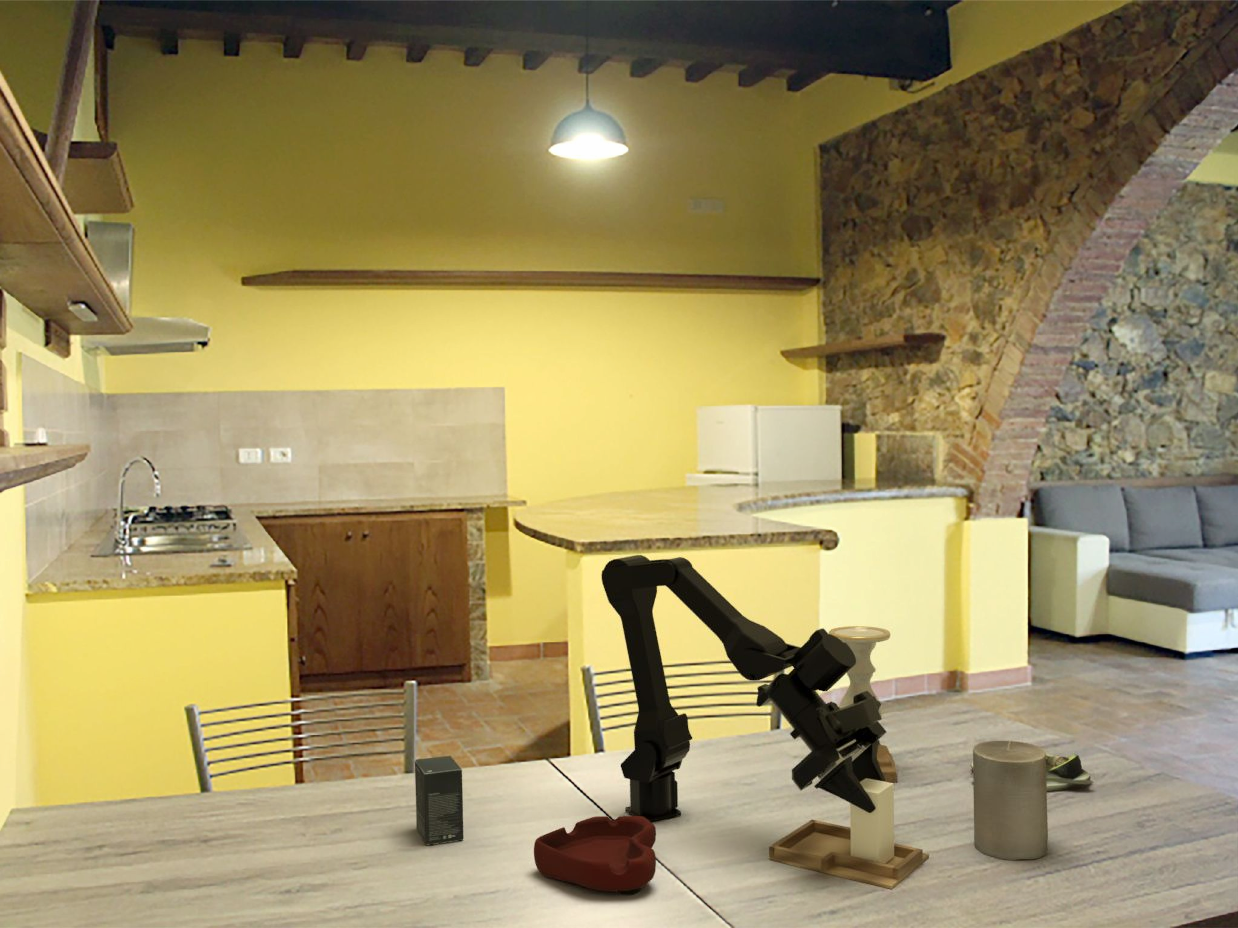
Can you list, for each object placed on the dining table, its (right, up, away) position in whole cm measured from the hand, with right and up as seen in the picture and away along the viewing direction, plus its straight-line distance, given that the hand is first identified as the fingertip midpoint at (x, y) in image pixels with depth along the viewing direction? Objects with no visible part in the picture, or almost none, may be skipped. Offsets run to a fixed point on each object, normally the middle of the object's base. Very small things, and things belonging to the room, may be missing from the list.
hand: (881, 805), depth 153 cm
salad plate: (+33, -7, +36) cm, 50 cm away
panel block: (-1, -8, +1) cm, 8 cm away
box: (-61, -9, +16) cm, 64 cm away
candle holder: (+6, -7, +41) cm, 42 cm away
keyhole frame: (-4, -8, +3) cm, 10 cm away
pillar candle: (+19, -8, +6) cm, 21 cm away
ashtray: (-38, -10, 0) cm, 39 cm away
